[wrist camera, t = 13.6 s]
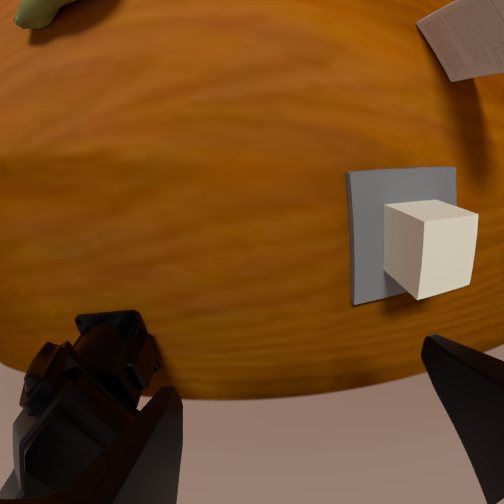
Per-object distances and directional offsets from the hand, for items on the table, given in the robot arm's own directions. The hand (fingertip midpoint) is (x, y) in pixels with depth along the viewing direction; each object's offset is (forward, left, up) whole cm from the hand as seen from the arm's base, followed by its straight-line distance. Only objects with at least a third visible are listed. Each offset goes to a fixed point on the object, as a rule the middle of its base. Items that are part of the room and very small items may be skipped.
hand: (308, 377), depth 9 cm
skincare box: (+18, +16, -12) cm, 27 cm away
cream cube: (+11, 0, -11) cm, 16 cm away
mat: (+11, 0, -12) cm, 16 cm away
